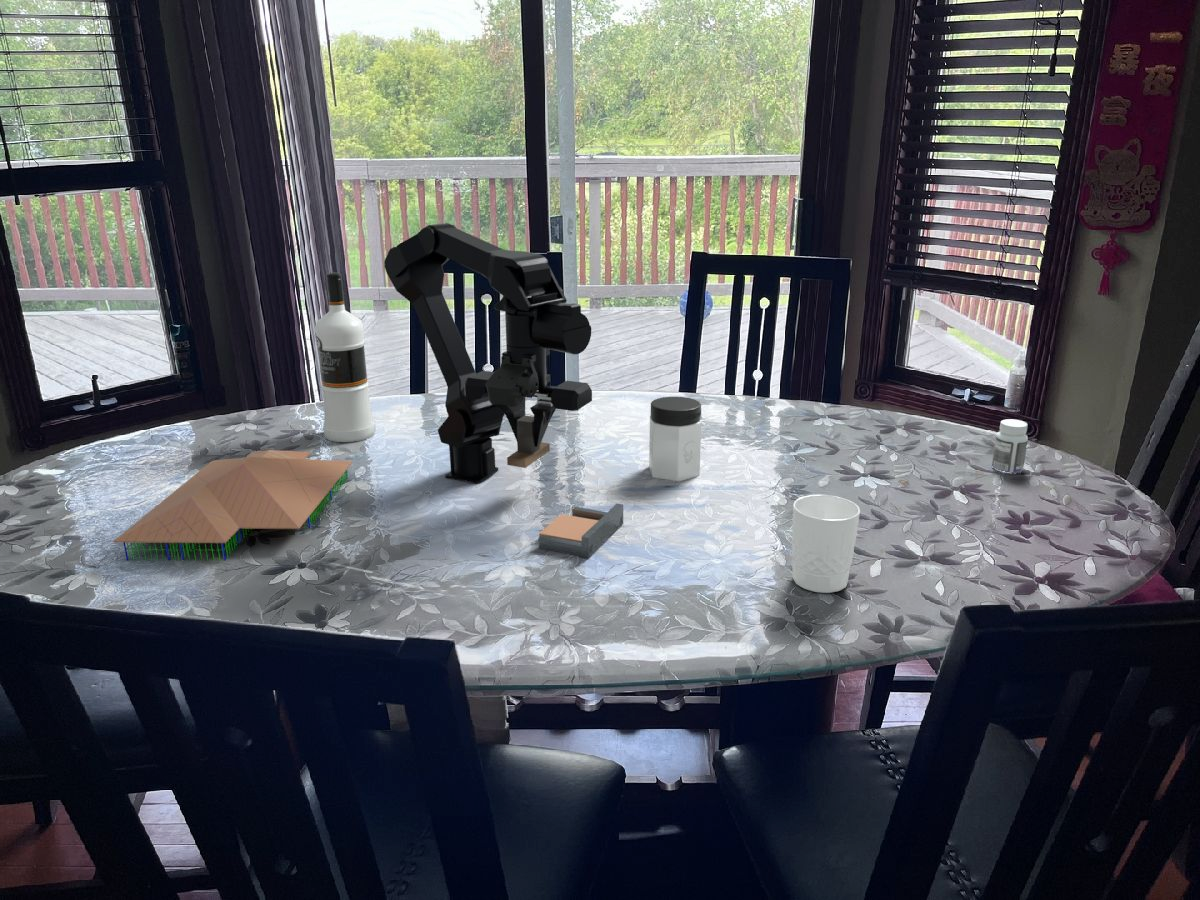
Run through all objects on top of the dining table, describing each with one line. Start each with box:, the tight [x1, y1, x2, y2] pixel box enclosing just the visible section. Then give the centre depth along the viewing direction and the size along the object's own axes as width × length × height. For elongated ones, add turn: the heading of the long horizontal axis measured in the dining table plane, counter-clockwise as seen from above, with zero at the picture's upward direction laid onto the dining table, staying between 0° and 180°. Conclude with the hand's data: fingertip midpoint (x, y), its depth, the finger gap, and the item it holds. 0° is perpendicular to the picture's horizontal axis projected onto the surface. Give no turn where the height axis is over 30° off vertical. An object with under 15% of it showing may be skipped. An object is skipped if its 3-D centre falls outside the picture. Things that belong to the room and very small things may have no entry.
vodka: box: [314, 271, 377, 443], centre depth 159 cm, size 9×9×30 cm
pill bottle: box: [991, 418, 1029, 472], centre depth 145 cm, size 5×5×8 cm
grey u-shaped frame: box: [538, 503, 624, 560], centre depth 123 cm, size 8×12×3 cm, turn 156°
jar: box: [648, 396, 703, 482], centre depth 144 cm, size 9×8×12 cm
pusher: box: [506, 415, 551, 469], centre depth 134 cm, size 3×8×6 cm, turn 156°
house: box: [112, 449, 354, 561], centre depth 131 cm, size 23×33×8 cm
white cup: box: [791, 494, 861, 594], centre depth 109 cm, size 8×8×10 cm
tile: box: [538, 513, 599, 542], centre depth 124 cm, size 7×7×2 cm
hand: (529, 444), depth 134 cm, fingers closed on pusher, 2 cm apart
